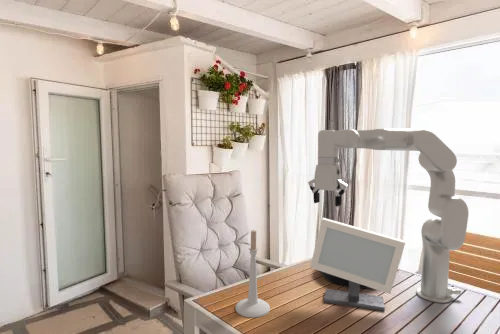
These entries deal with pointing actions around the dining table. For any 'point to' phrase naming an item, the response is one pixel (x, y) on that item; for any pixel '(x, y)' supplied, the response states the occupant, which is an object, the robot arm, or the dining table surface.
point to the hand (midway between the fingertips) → (327, 204)
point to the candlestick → (252, 289)
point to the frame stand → (354, 298)
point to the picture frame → (357, 255)
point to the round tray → (338, 280)
